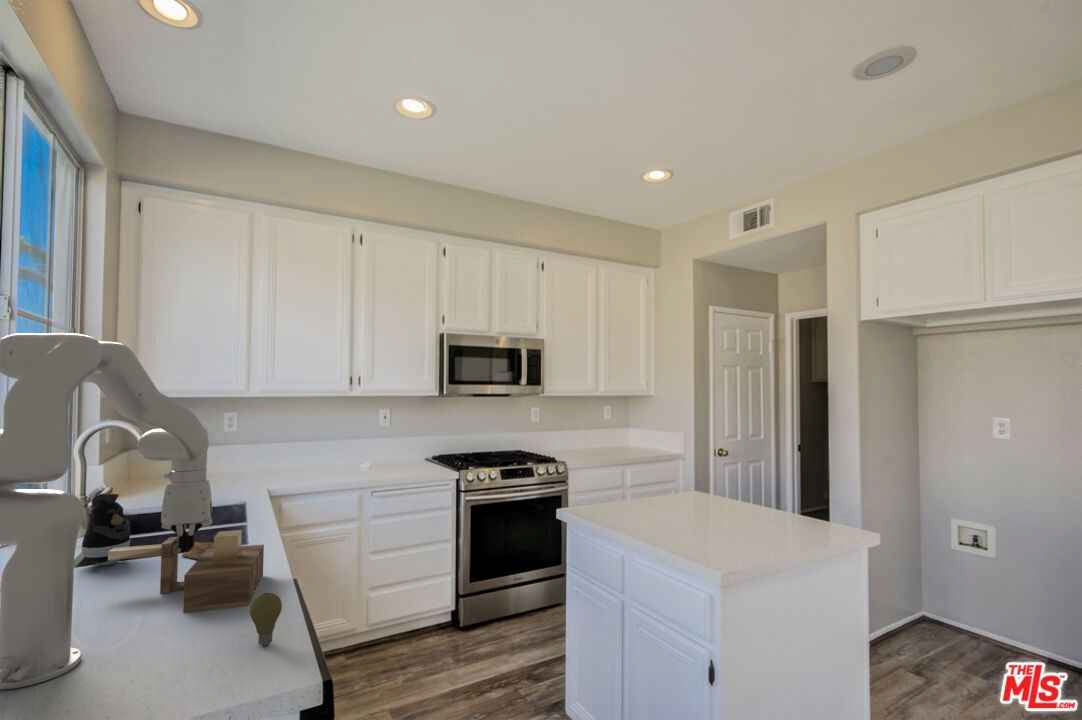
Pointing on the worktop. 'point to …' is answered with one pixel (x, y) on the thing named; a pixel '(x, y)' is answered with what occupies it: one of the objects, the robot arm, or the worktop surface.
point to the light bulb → (265, 615)
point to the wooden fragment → (198, 550)
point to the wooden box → (208, 584)
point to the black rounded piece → (105, 529)
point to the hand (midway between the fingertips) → (186, 550)
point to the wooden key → (139, 551)
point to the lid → (225, 558)
